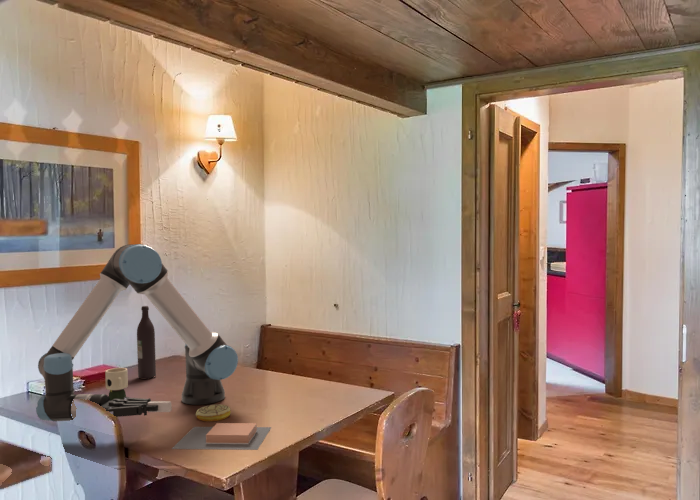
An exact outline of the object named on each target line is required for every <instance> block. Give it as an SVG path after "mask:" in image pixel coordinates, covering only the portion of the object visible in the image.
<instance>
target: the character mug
mask: <svg viewBox="0 0 700 500" xmlns="http://www.w3.org/2000/svg"><path fill="white" fill-rule="evenodd" d="M104 373H105V389H106V390H108V391H109V392H108V396H109V398H110V400H113V399H124V397H127V393H126V390H125V389H127V388H128V387H129V385H128V384H129V383H128V368H126V367H115V368H110V369H106V370H105V371H104Z"/></svg>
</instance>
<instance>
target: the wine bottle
mask: <svg viewBox="0 0 700 500" xmlns="http://www.w3.org/2000/svg"><path fill="white" fill-rule="evenodd" d="M140 309H141V319H140V321H139V323H138V325H137V329H136V345H137V346H136V347H137V348H136V350H137V351H136V353H137V377H139V378H151V377H154V376H157V370H156V369H157V366H156V362H157V361H156V335H155V333H156V332H155V327H154V324H153V322H152V320H151V318H150V315H149V310H150V309H149V306H148V305H142V306H141V308H140ZM139 378H138V379H139ZM154 378H155V377H154ZM151 379H152V378H151Z"/></svg>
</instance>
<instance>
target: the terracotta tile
mask: <svg viewBox="0 0 700 500" xmlns="http://www.w3.org/2000/svg"><path fill="white" fill-rule="evenodd" d="M212 427H213V428H212V429H211V430H210V431H209V432H208V433H207V434H206V444H249V442H250V441H251V439H252V438H253V437H254V435H255V434H256V432H257V427H258V425H257V423H254V422H251V423H250V422H248V423H247V422H246V423H245V422H242V423H241V422H240V423H239V422H238V423H236V422H234V423H233V422H231V423H230V422H227V423H226V422H223V423H222V422H217V423H215V425H214V426H212Z"/></svg>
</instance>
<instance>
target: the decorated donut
mask: <svg viewBox="0 0 700 500" xmlns="http://www.w3.org/2000/svg"><path fill="white" fill-rule="evenodd" d="M230 415H231V407H230V406H228V405H227V404H215V403H213V404H207V405H206V406H202V407H200V408H197V410H196V412H195V416H196V419H197V420H199V421H203V422H217V421H223V420H225V419H228V418H229V417H230Z"/></svg>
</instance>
